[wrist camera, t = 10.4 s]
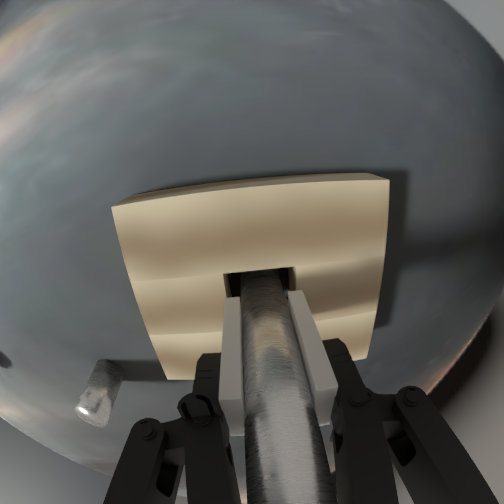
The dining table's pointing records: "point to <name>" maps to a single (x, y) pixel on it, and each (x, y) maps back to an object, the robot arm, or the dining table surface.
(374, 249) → the hole plate
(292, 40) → the dining table surface
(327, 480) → the long pin
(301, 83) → the dining table surface
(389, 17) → the dining table surface
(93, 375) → the short pin
